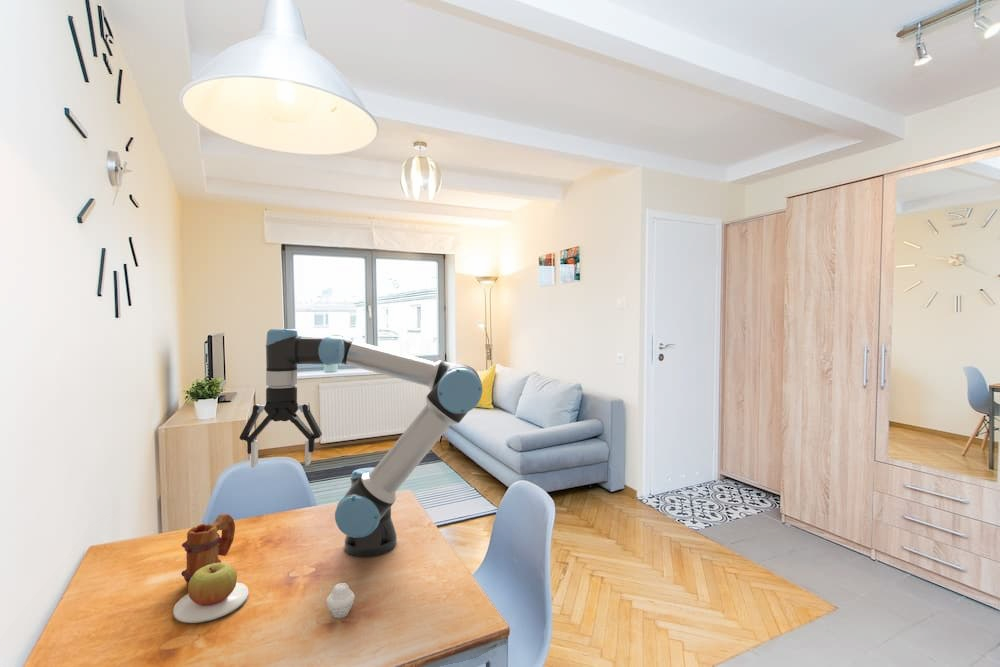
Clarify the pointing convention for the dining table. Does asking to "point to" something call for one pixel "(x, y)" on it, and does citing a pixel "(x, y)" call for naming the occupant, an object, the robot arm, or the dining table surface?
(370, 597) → the dining table surface
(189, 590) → the apple
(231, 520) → the mug
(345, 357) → the robot arm
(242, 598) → the plate
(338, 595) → the white rounded piece
